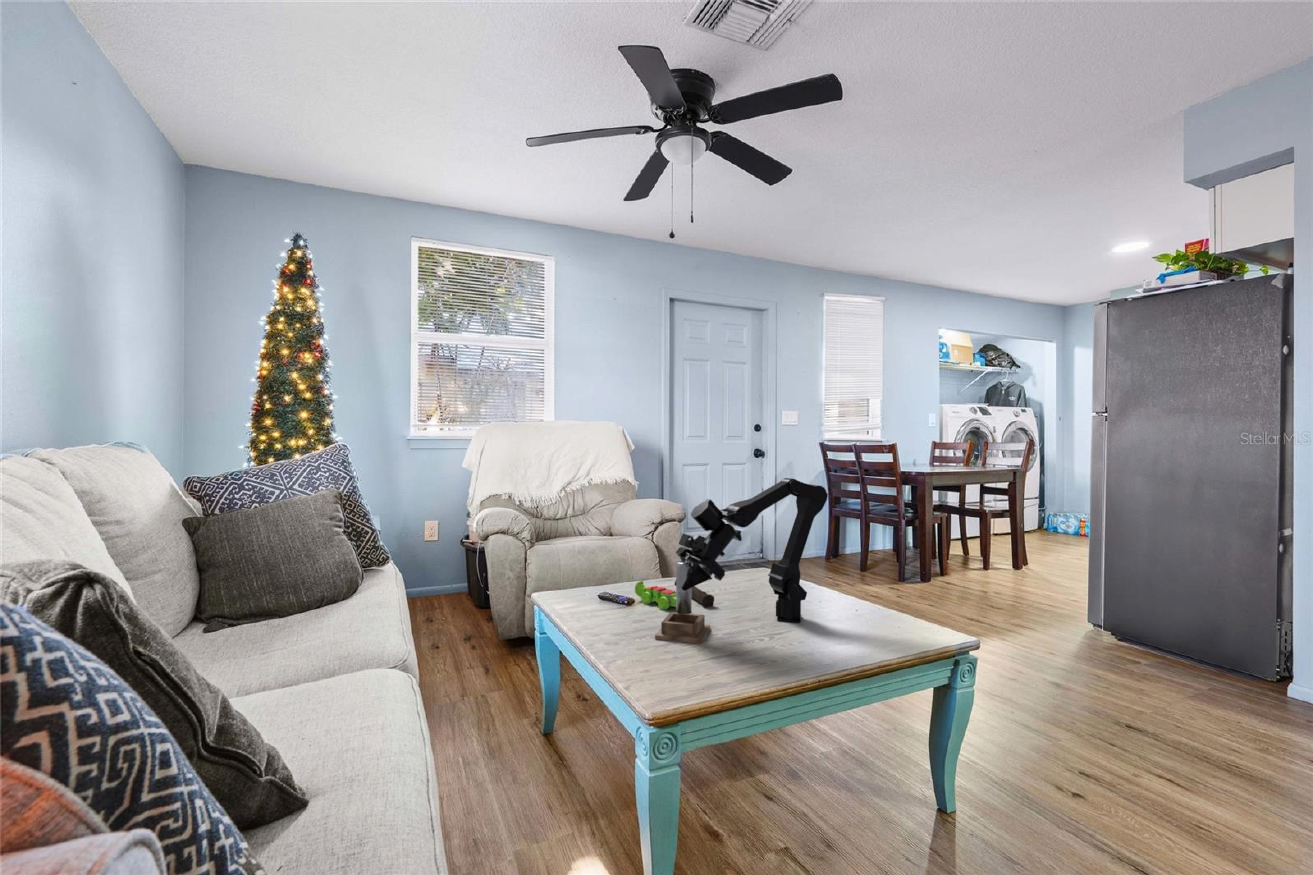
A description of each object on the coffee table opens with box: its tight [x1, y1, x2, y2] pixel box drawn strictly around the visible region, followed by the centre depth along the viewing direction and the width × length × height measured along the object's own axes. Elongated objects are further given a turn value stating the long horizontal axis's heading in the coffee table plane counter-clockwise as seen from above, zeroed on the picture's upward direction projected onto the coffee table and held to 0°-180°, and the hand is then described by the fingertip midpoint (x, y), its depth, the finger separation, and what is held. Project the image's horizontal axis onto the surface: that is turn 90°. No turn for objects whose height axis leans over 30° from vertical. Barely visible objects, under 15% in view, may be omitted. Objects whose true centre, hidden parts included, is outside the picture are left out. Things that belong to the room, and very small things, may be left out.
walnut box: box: [654, 611, 711, 645], centre depth 157 cm, size 12×12×4 cm
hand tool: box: [692, 586, 715, 608], centre depth 190 cm, size 19×4×5 cm, turn 19°
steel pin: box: [675, 560, 693, 614], centre depth 157 cm, size 4×4×13 cm
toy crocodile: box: [634, 580, 676, 611], centre depth 184 cm, size 20×7×6 cm, turn 43°
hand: (679, 587), depth 156 cm, fingers closed on steel pin, 4 cm apart
